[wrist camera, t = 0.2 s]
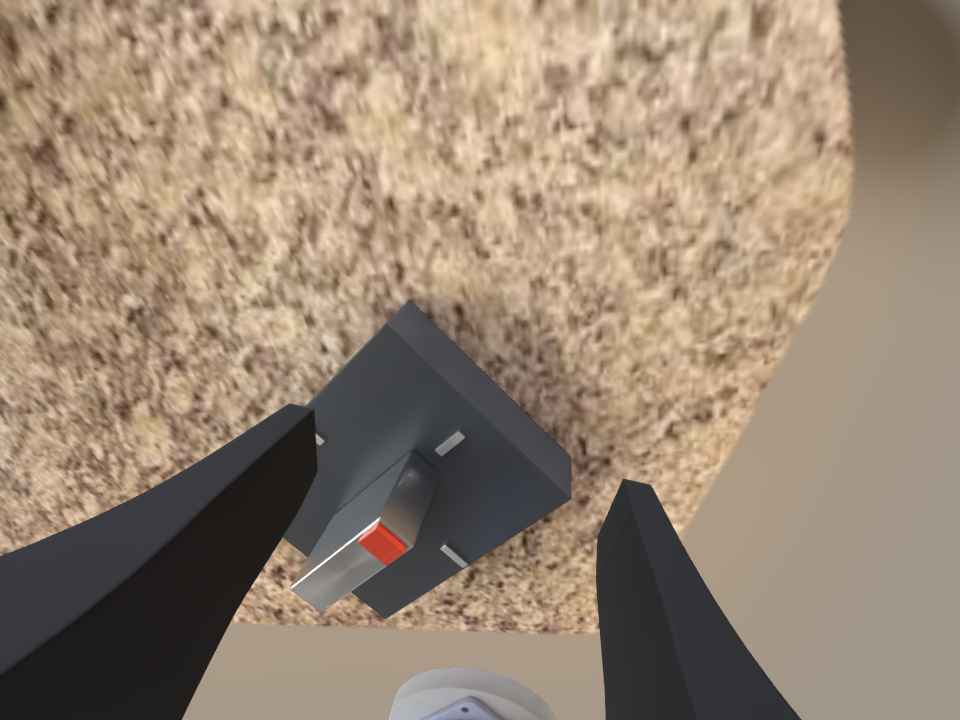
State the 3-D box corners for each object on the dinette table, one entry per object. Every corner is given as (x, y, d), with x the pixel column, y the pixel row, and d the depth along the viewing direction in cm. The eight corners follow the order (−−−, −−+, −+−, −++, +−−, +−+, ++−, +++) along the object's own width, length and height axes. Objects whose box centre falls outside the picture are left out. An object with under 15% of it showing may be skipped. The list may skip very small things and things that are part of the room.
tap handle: (360, 537, 22) (317, 620, 18) (333, 514, 22) (284, 594, 18) (441, 474, 20) (412, 553, 16) (413, 448, 20) (376, 522, 16)
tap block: (403, 571, 27) (384, 622, 24) (260, 452, 25) (221, 492, 22) (570, 455, 22) (571, 502, 19) (409, 299, 20) (384, 325, 17)
